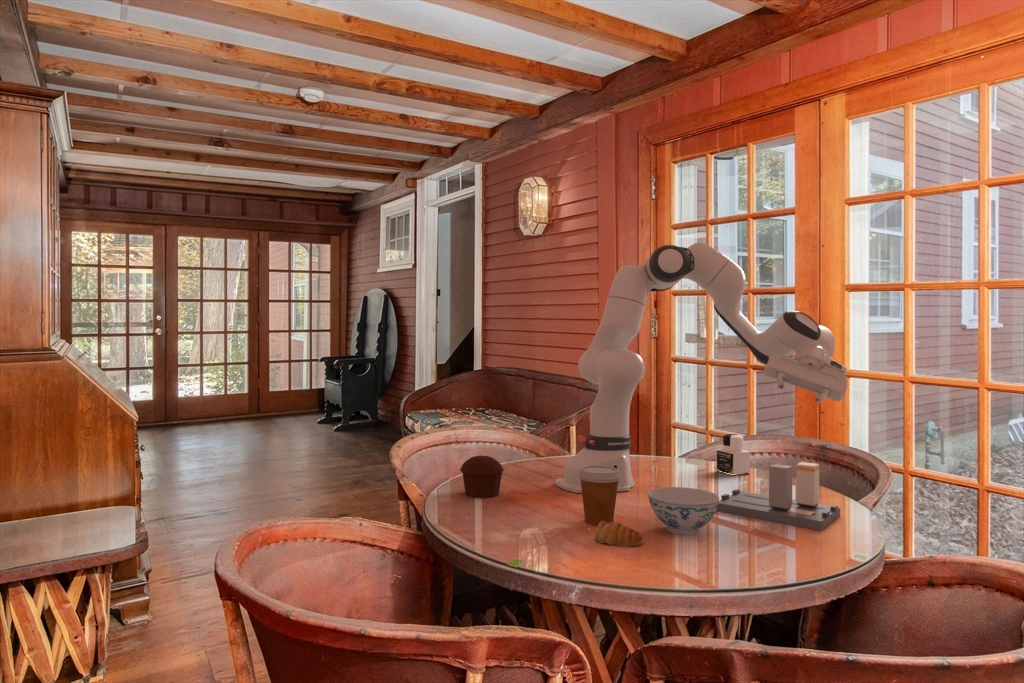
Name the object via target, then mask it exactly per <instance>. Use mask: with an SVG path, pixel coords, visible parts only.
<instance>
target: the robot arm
mask: <svg viewBox="0 0 1024 683" xmlns="http://www.w3.org/2000/svg"><path fill="white" fill-rule="evenodd" d="M682 279H685V280H687V279H688V280H689V281H692V282H694V283H696V284H697V285H698V286H700V287H701V288H702V289H704V291H705V292H707V293H708V295H709V296H710V297H711V299H712V300H713V301H712V302H713V308H714V310H715V312H716V314H717V316H719V317H720V319H721V320H722V321H723V322H724V323H725V325H726V326H727V327H729V329H730V330H731V331H732V332H733V333H734V334H735V335H736V336H737V337H738V338H739V339H740V340H741V341H742V342H743V343H744V345H746V347H747V348H748V349H749V350H750V352H751V353H752V355H753V356H754V358H755V360H757V361H758V362H760V364H762V365H764V366H765V368H764V370H763V373H764V375H765V376H766V377H770V378H771V379H775V382H776V384H777V386H776V388H777V389H780V390H783V389H784V387H785V384H788V385H791V386H794V387H797V388H800V389H803V390H806V391H808V392H811V393H814V394H816V396H815V398H814V402H816V403H818V404H821V402H822V401H824V400H826V399H830V400H833V401H836V402H840V401H842V400H843V399H844V398H845V395H846V392H847V390H848V377H847V375H846V374H847V371H848V369H847V367H846V366H844V365H843V364H841V363H839V362H838V361H835V360H834V359H833V355H834V352H835V349H836V339H835V337H834V336H835V335H834V334H833V332H832V331H831V330H830V329H829V328H827V327H826V326H823V325H819V324H818V323H817V322H816V321H815V320H814V319H813V318H812V317H811V316H809V315H808V314H806V313H805V312H801V311H797V310H787V311H784V313H782V314H781V315H780V316H779V317H778V318H777V319H775V320H774V322H773V323H772V324H771V325H770V326H769V327H767V329H765V330H763V332H761V331H759V330H758V329H757V328H756V327H755V326H754V325H753V324H752V323H751V321H749V320H748V319H747V317H746V316H745V315H744V314H743V313H742V311H741V309H740V303H741V299H742V296H743V294H744V291H745V287H746V275H745V272H744V270H743V269H742V268H741V266H739V265H738V264H737V263H736V262H735V261H733V260H732V259H730V258H729V257H728V256H726V255H725V254H723V253H722V252H721V251H719V250H717V249H715V248H713V247H712V246H710V245H708V244H706V243H703V242H695V243H693V244H691V245H690V246H688V247H682V246H678V245H673V244H665V245H662V246H660V247H658V248H656V249H655V250H654V251H653V252H651V254H650V255H649V256H648V258H647V259H646V261H645V263H643V264H642V265H637V264H627V265H623V266H621V267H620V268H619V269H618V270H617V272H616V274H615V276H614V278H613V280H612V283H611V286H610V289H609V292H608V295H607V300H606V302H605V308H604V310H603V314H602V318H601V321H600V323H599V326H598V329H597V331H596V333H595V334H594V337H593V338H592V341H591V342H590V344H589V345H588V348H587V349H586V350H585V351H584V352H583V353H582V354H581V355H580V357H579V359H578V362H577V369H578V372H579V374H580V376H581V377H582V378H583V379H585V381H587V382H589V383H591V384H592V385H598V392H597V393H596V398H595V400H594V401H593V403H592V404H591V405H590V409H589V434H587V435H588V436H587V437H586V436H583V435H578V436H577V442H579V443H582V444H584V445H583V448H582V449H580V450H579V451H578V452H577V453H576V454H575V455H573V457H571V458H570V459H569V460H567V462H566V463H565V464H564V468H563V474H562V476H563V477H562V478H557V479H555V485H556V486H557V487H558V488H560V489H562V490H565V491H567V492H572V493H577V494H582V488H581V479H580V476H579V475H578V474H579V473H580V469H581V468H582V467H585V466H609V467H614V468H617V469H618V470H619V474H620V475H621V477H620V479H619V481H618V488H617V492H628V491H630V489H631V488H633V487H634V486H635V482H634V478H633V474H632V468H631V460H630V458H631V457H630V452H631V435H630V408H631V403H632V400H633V399H632V398H633V396H634V393H635V389H636V388H637V385H638V384H640V382H642V380H643V378H644V375H645V371H646V366H645V362H644V360H643V358H642V357H641V355H639V354H638V353H636V352H634V351H632V350H630V349H628V346H629V344H630V343H631V341H632V340H633V339H635V337H636V336H637V335H638V334H639V332H640V329H641V325H642V321H643V317H644V316H643V315H644V313H645V309H646V304H647V299H648V296H649V294H650V293H651V292H664V291H667V290H670V289H672V288H673V287H674V286H675V285H676V284H678V283H679V282H680V281H681V280H682ZM794 352H795V355H794V358H793V357H790V355H792V354H793V353H794Z"/></svg>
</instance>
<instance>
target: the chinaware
mask: <svg viewBox="0 0 1024 683" xmlns="http://www.w3.org/2000/svg"><path fill="white" fill-rule="evenodd" d="M647 495H648V496H647V497H648V501H649V504H650V507H651V509H652V512H653V514H655V516H656V517H657V519H658V520H659V521H660V522H662V523H663V524H664V525H665V526H666V530H667V531H668V532H670V533H673V534H677V535H685V536H686V535H687V536H690V535H697V534H698V533H699V532H700V528H702V527H704V526H705V525H707V524H708V523H709V522H710V521H711V520H712V519H713V517H714V516H715V514H716V512H717V511H716V510H717V507H718V503H719V501H720V496H719V495H718V494H716V493H714V492H712V491H708V490H704V489H701V488H700V489H699V488H693V487H692V488H691V487H685V486H684V487H683V486H681V487H680V486H677V487H676V486H667V487H665V486H663V487H656V488H653V489H650V490H648V492H647Z"/></svg>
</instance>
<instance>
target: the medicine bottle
mask: <svg viewBox="0 0 1024 683" xmlns="http://www.w3.org/2000/svg"><path fill="white" fill-rule="evenodd" d="M722 439H723V440H722V443H723V444H722V445H723V446H722V447H723V448H718V449H716V471H717V470H719V471H722V472H726V473H730V474H738V473H743V472H748V471H751V470H750V469H751V465H750V464H751V462H750V461H751V458H750V457H751V452H750V451H749V450H746V449H744V440H745V439H744V436H743V435H741V434H735V433H727V434H725V435H723V437H722Z"/></svg>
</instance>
